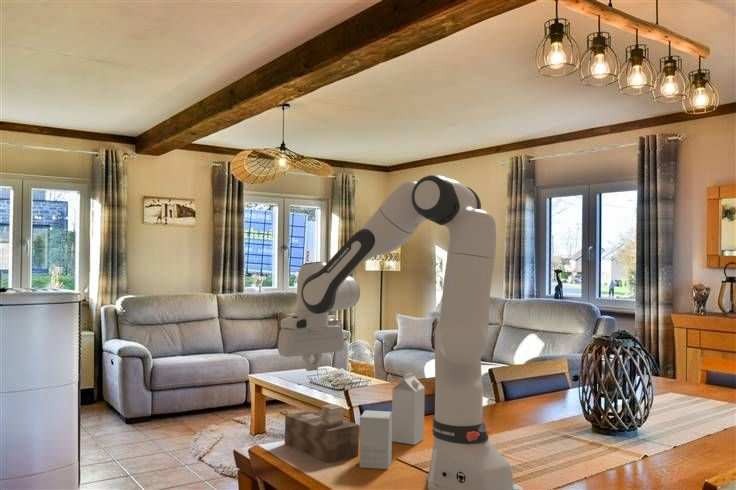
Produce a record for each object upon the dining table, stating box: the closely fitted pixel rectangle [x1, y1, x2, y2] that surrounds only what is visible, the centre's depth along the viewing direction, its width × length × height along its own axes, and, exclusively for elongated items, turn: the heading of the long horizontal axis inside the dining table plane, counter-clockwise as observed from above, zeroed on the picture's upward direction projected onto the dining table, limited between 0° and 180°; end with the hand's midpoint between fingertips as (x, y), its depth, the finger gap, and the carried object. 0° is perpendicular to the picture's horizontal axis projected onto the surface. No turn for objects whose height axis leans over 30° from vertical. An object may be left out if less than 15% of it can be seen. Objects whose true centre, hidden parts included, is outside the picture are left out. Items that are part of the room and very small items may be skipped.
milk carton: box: [391, 372, 426, 446], centre depth 176 cm, size 7×7×19 cm
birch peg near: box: [321, 403, 344, 427], centre depth 162 cm, size 4×4×7 cm
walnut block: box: [284, 409, 360, 464], centre depth 165 cm, size 20×10×8 cm, turn 40°
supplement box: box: [359, 409, 393, 470], centre depth 154 cm, size 7×7×13 cm
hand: (311, 370), depth 170 cm, fingers closed
